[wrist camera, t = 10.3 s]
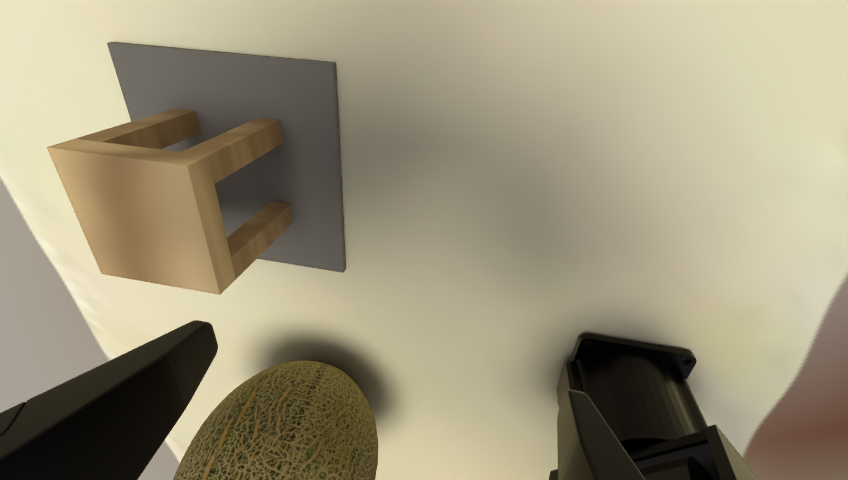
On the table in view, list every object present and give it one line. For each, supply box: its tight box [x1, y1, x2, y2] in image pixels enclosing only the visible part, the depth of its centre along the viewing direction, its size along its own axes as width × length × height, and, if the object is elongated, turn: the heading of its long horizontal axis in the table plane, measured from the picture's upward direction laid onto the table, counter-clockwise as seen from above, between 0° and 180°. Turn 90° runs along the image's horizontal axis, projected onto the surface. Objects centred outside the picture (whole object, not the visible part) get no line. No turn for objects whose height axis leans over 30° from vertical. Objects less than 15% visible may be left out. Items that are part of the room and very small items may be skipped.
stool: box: [47, 108, 293, 295], centre depth 20 cm, size 6×6×7 cm
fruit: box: [173, 361, 378, 480], centre depth 25 cm, size 11×11×15 cm
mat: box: [107, 42, 346, 272], centre depth 23 cm, size 12×12×1 cm
